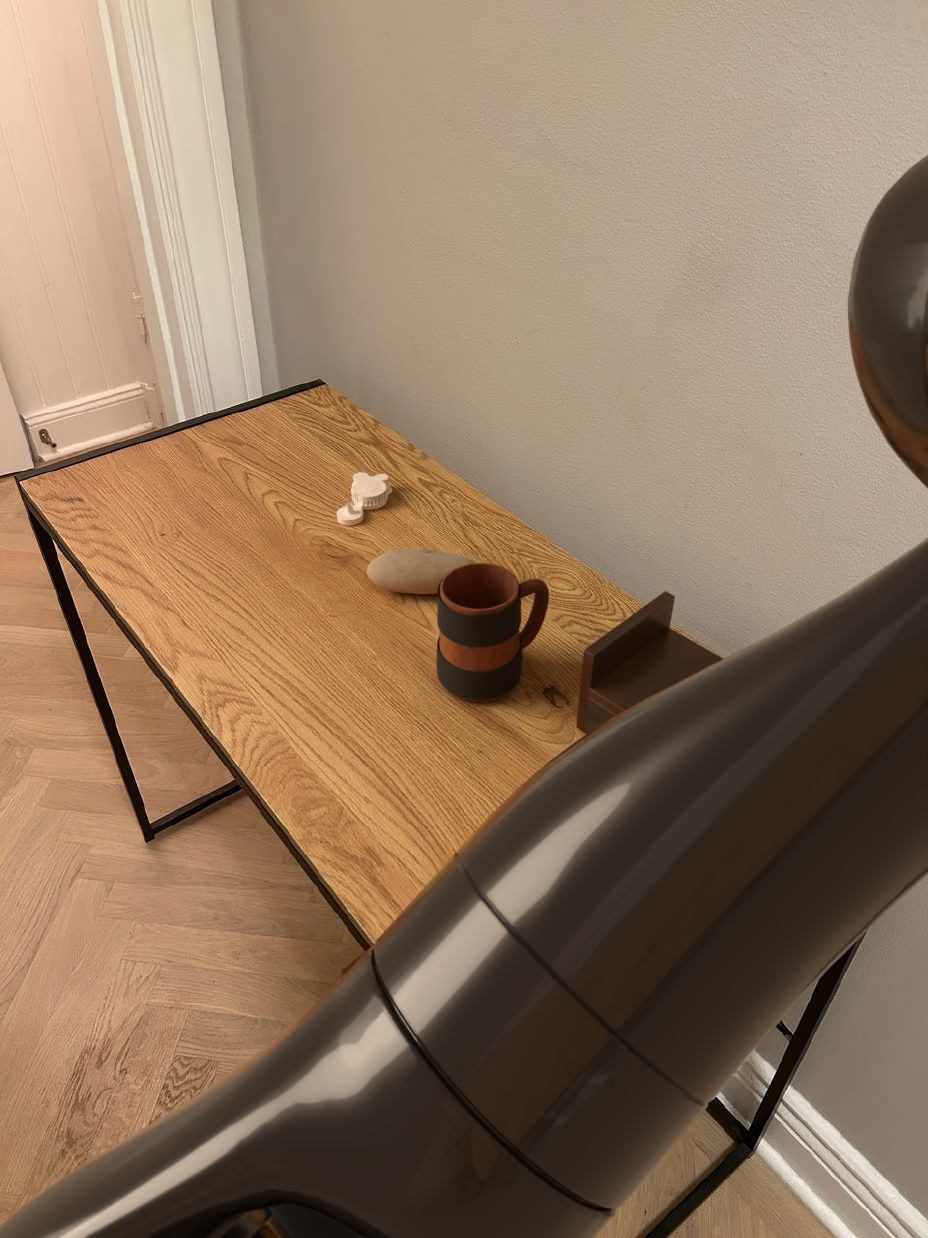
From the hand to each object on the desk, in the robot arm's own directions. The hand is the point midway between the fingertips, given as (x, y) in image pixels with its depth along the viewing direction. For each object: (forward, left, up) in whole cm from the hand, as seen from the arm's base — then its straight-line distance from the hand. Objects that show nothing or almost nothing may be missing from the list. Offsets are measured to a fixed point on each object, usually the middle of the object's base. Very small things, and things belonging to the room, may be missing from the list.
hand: (522, 990), depth 50 cm
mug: (+32, -31, -19) cm, 48 cm away
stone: (+47, -35, -19) cm, 61 cm away
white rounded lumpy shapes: (+66, -42, -19) cm, 80 cm away
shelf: (+15, -37, -18) cm, 44 cm away
